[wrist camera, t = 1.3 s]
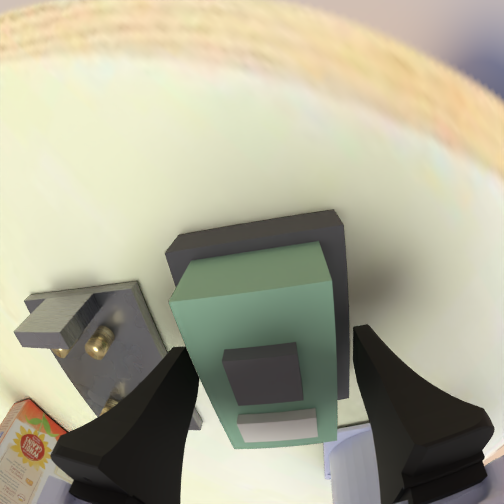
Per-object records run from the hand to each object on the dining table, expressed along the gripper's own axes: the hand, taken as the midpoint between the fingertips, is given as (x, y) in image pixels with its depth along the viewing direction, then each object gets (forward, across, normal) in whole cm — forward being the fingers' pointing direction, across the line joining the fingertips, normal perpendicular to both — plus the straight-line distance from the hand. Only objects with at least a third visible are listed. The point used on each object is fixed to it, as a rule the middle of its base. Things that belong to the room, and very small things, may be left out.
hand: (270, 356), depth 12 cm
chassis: (+3, +11, +3) cm, 12 cm away
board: (+1, 0, 0) cm, 1 cm away
